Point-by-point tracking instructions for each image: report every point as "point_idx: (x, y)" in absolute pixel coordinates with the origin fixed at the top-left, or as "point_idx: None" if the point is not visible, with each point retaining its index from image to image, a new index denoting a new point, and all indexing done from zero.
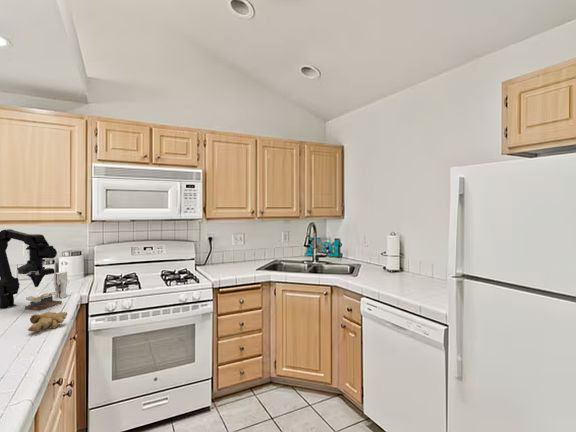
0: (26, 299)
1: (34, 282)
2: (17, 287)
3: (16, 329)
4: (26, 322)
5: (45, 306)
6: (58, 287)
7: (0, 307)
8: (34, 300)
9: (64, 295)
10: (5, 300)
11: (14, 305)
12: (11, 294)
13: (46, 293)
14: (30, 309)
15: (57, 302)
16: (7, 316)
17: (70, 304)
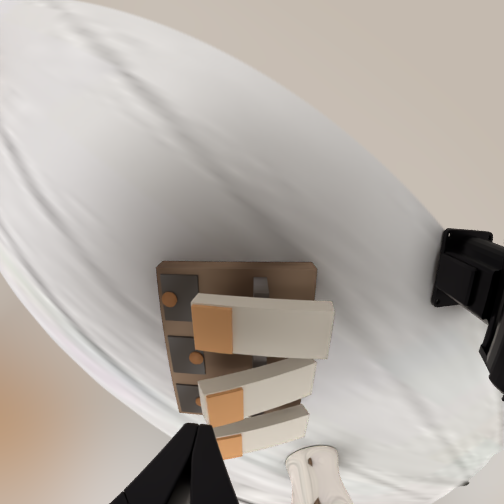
0: (324, 302)
1: (190, 484)
2: (499, 369)
3: (25, 27)
4: (40, 78)
5: (162, 313)
6: (310, 498)
7: (469, 230)
8: (212, 301)
9: (287, 469)
10: (482, 258)
11: (435, 290)
12: (494, 313)
13: (210, 419)
14: (254, 262)
15: (175, 390)
16: (255, 87)
17: (123, 393)
